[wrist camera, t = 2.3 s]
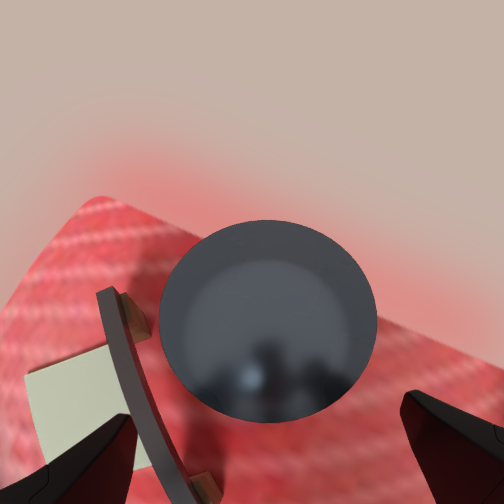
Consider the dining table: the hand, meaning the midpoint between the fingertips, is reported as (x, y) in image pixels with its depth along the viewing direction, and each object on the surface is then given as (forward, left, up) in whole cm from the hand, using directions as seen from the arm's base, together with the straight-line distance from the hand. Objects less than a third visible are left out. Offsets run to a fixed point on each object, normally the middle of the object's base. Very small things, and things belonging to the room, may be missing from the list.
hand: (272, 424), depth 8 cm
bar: (+3, +5, -6) cm, 9 cm away
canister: (+2, -1, -10) cm, 10 cm away
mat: (+4, +12, -10) cm, 16 cm away
